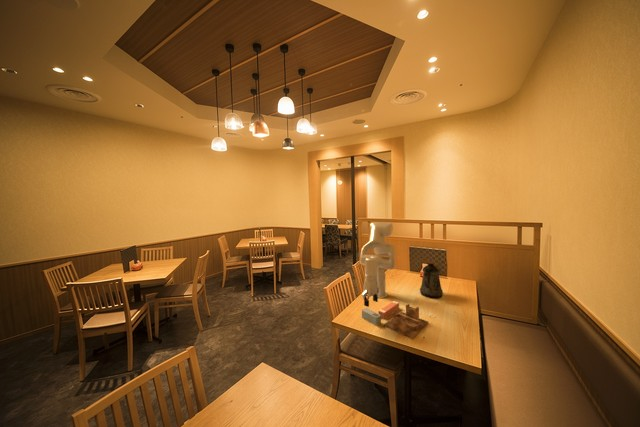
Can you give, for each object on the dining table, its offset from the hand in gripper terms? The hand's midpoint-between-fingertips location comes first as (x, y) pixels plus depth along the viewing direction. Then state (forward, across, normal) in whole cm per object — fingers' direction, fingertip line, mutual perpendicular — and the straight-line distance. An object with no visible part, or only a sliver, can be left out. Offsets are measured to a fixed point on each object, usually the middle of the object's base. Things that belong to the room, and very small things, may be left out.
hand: (371, 303), depth 141 cm
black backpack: (+10, -66, +13) cm, 68 cm away
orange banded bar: (+12, -18, +3) cm, 21 cm away
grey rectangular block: (+12, -1, 0) cm, 12 cm away
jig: (+11, -12, +18) cm, 24 cm away
